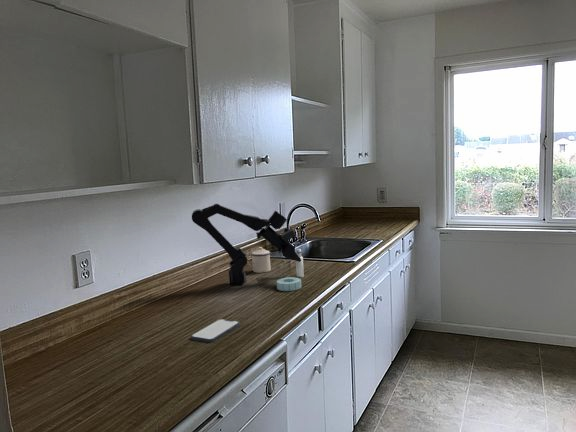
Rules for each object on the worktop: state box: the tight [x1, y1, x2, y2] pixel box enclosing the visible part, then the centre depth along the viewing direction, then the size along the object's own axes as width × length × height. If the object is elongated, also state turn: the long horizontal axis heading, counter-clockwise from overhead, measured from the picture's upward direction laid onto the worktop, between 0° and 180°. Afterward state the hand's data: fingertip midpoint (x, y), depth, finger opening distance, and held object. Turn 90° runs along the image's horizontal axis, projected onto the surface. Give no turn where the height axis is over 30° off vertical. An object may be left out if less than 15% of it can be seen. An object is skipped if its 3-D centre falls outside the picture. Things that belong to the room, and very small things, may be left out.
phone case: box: [190, 318, 241, 343], centre depth 153 cm, size 9×2×16 cm
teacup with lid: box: [246, 246, 271, 274], centre depth 232 cm, size 12×9×12 cm
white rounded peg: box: [295, 248, 305, 278], centre depth 216 cm, size 3×3×12 cm
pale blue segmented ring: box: [276, 276, 302, 292], centre depth 199 cm, size 10×10×3 cm
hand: (298, 258), depth 215 cm, fingers open, 9 cm apart
